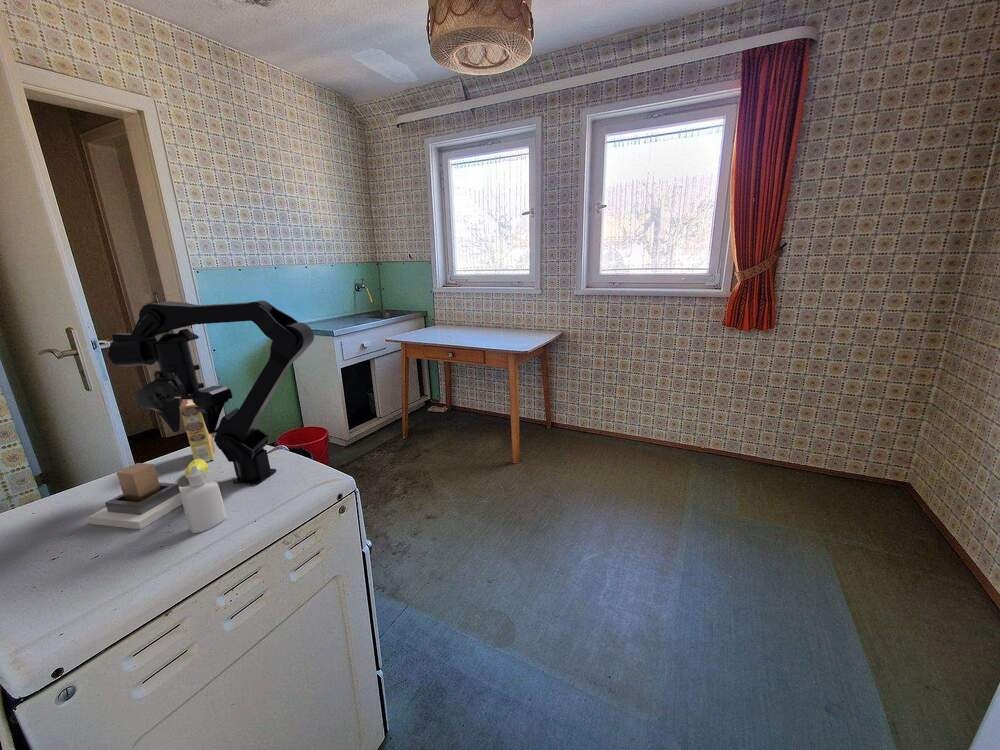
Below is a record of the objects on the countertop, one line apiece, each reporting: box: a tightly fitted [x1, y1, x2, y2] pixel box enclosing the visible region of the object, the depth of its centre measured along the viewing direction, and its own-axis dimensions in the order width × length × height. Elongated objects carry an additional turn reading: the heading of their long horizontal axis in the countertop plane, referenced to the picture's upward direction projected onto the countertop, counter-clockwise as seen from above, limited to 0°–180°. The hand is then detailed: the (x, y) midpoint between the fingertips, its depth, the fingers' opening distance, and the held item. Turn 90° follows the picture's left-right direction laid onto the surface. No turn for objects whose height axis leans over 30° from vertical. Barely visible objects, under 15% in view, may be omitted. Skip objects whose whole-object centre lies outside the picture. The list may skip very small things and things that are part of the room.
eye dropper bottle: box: [181, 466, 227, 534], centre depth 75 cm, size 4×6×12 cm
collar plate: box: [88, 482, 190, 530], centre depth 82 cm, size 12×12×4 cm
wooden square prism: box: [116, 462, 161, 502], centre depth 82 cm, size 4×4×9 cm
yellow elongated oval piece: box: [184, 459, 209, 480], centre depth 95 cm, size 4×8×4 cm, turn 22°
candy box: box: [180, 399, 216, 462], centre depth 103 cm, size 9×4×15 cm, turn 33°
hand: (194, 432), depth 89 cm, fingers open, 9 cm apart
